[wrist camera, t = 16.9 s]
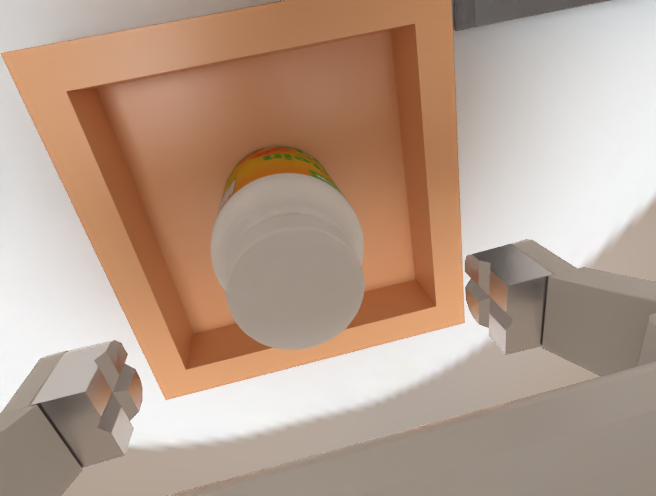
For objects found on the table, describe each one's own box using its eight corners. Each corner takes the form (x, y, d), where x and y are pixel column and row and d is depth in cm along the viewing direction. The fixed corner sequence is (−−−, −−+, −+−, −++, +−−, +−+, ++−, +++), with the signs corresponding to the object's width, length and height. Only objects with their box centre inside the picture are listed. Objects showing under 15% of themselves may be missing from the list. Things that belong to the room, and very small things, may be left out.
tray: (54, 57, 17) (0, 52, 13) (411, -10, 18) (450, -30, 15) (179, 350, 24) (165, 400, 20) (434, 286, 25) (464, 322, 21)
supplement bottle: (347, 165, 20) (420, 236, 11) (310, 258, 22) (347, 384, 13) (242, 125, 18) (232, 173, 10) (210, 229, 20) (176, 350, 11)
